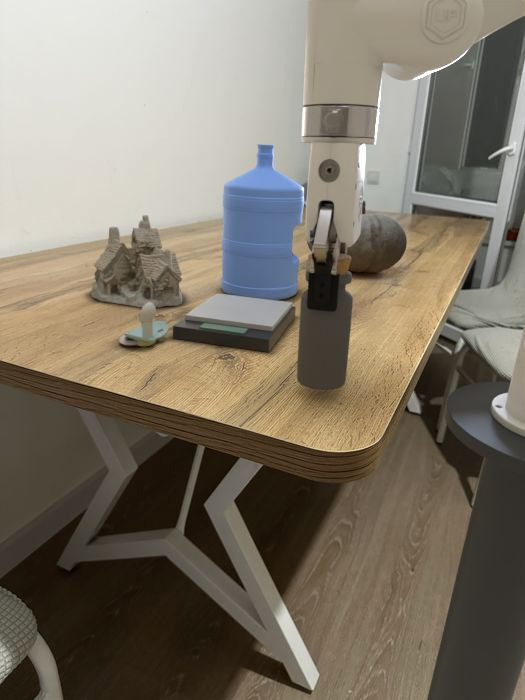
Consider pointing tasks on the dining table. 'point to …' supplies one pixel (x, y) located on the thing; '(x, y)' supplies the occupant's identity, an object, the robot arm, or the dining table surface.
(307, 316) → the bottle
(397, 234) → the gourd
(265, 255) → the water jug
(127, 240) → the dining table surface
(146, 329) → the pacifier
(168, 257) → the ceramic cottage
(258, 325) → the scale
